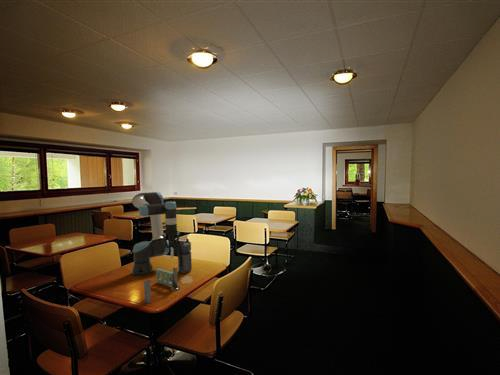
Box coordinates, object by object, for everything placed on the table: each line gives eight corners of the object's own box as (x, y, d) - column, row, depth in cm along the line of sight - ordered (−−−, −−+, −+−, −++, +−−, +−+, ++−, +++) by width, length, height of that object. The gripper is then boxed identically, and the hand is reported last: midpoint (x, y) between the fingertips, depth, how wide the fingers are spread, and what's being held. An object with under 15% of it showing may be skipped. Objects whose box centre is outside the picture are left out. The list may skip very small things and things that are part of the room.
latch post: (143, 302, 147) (143, 281, 146) (148, 300, 149) (148, 279, 149) (147, 304, 145) (146, 282, 144) (151, 301, 148) (151, 280, 147)
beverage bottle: (174, 274, 190) (173, 242, 189) (183, 268, 202) (182, 237, 201) (185, 275, 187) (184, 242, 186) (194, 269, 199) (193, 238, 198)
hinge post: (169, 289, 164) (168, 267, 163) (176, 285, 169) (175, 264, 168) (175, 291, 160) (174, 269, 160) (182, 287, 165) (181, 266, 165)
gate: (175, 285, 166) (175, 272, 166) (172, 287, 164) (172, 274, 164) (159, 280, 176) (158, 268, 176) (156, 281, 174) (155, 269, 173)
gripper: (179, 222, 179) (180, 254, 180) (160, 223, 173) (161, 257, 174) (181, 223, 172) (182, 257, 173) (162, 225, 166) (163, 260, 167)
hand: (172, 256), depth 174 cm, fingers closed
